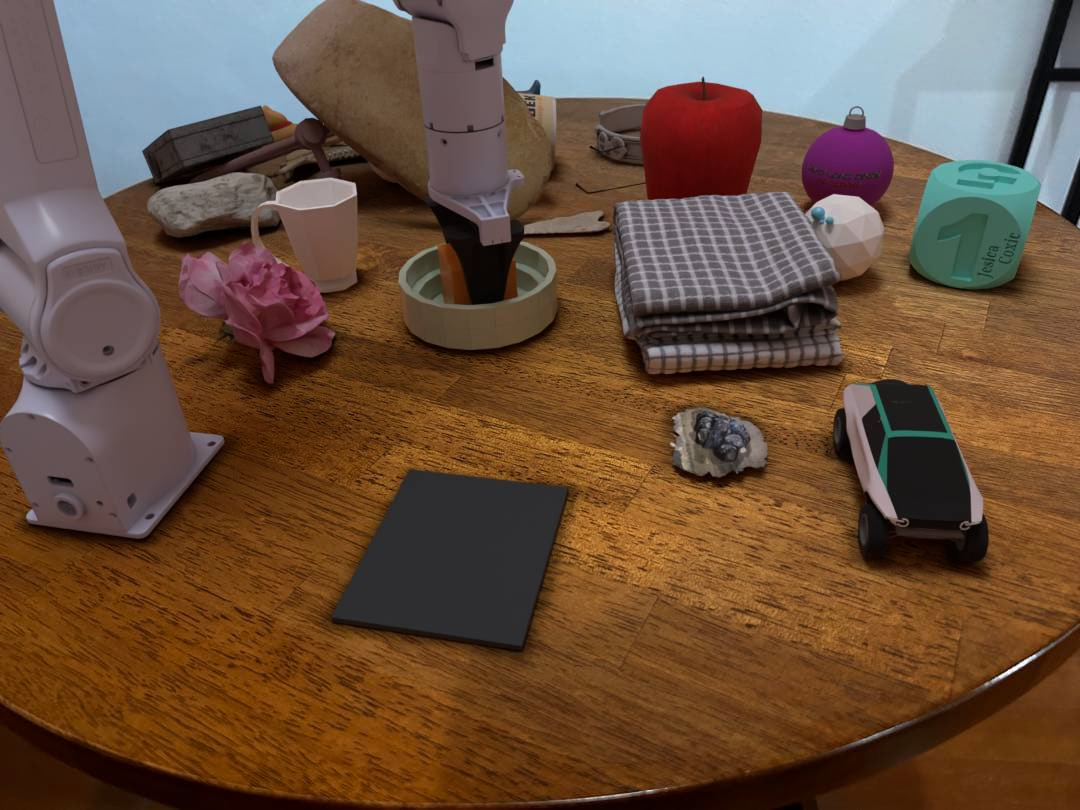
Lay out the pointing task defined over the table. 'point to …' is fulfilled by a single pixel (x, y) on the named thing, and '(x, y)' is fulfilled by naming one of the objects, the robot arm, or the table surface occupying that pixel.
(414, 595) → the mat
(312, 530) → the table surface
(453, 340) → the bowl
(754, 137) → the apple
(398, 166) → the stone
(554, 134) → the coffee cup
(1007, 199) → the decorative dice
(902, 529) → the toy car
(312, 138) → the toilet paper hanger
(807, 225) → the towel
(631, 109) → the bracelet
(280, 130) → the toy
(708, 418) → the blueberries
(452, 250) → the block
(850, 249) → the ornament
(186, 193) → the decorative stone
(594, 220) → the stone tool
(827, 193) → the christmas ornament
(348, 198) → the cup
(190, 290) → the flower
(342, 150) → the jawbone
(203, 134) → the grey rectangular box
